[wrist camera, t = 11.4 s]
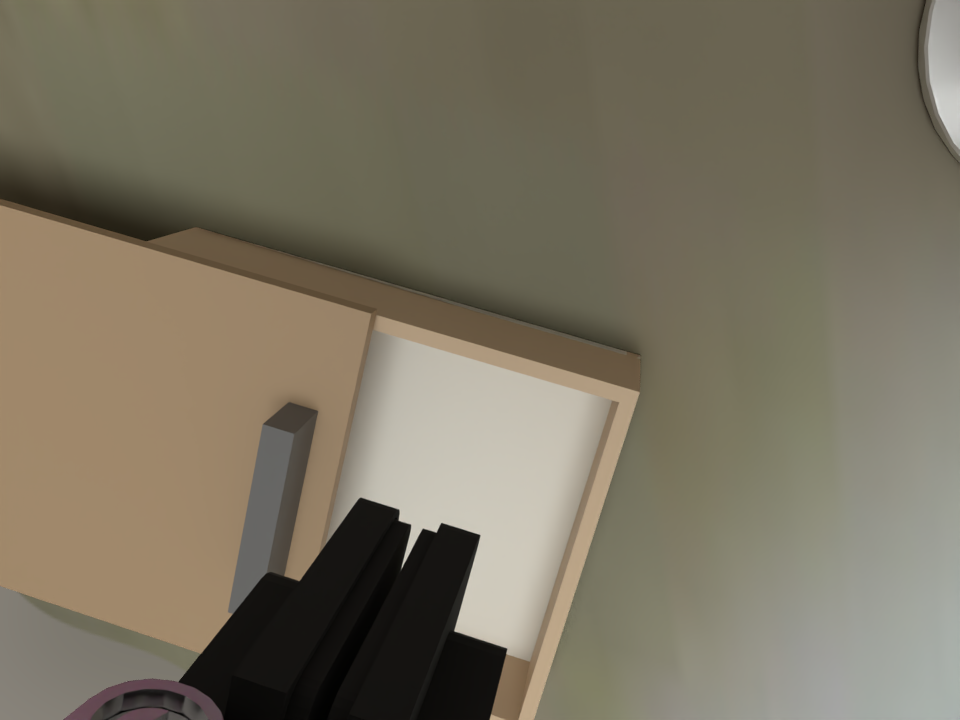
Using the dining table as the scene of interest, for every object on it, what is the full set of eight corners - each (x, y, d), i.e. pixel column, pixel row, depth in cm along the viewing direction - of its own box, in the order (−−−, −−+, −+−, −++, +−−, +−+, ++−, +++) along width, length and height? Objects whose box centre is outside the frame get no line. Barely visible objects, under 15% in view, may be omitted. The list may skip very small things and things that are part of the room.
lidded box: (640, 355, 38) (639, 392, 34) (540, 668, 43) (527, 739, 38) (196, 227, 40) (135, 244, 35) (148, 541, 45) (90, 593, 40)
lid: (377, 308, 34) (350, 330, 31) (297, 671, 39) (267, 721, 36) (-118, 164, 36) (-190, 170, 33) (-132, 528, 41) (-196, 564, 38)
